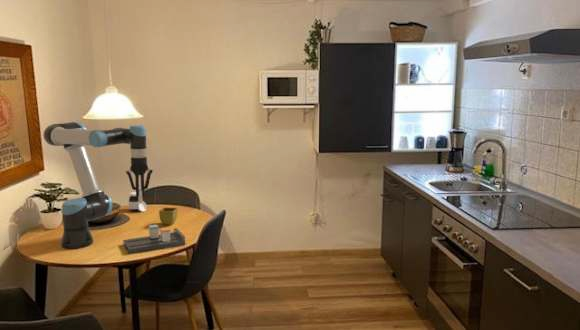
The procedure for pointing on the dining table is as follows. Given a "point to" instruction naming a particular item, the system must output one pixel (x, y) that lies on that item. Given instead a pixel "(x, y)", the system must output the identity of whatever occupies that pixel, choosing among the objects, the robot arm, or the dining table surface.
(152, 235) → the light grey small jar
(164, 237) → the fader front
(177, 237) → the grey tray
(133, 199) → the spread jar
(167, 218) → the flower pot
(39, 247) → the dining table surface
